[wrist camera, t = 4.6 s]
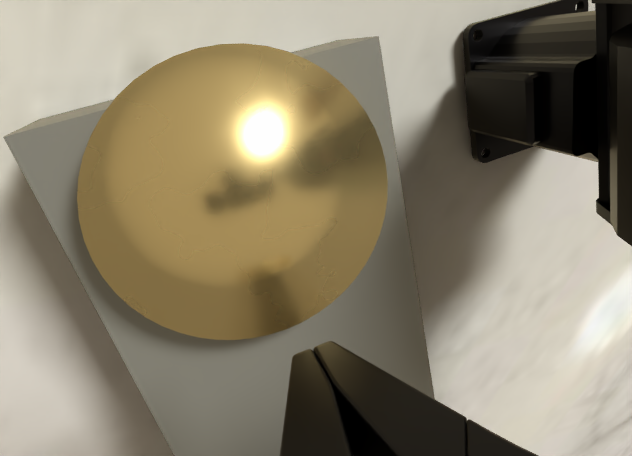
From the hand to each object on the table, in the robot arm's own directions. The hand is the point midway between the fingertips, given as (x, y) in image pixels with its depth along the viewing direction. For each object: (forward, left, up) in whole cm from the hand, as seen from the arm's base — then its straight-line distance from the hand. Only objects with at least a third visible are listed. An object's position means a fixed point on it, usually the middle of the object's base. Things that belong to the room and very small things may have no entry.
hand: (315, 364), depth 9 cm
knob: (0, -1, -12) cm, 12 cm away
